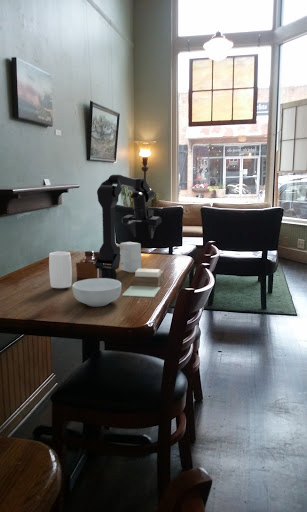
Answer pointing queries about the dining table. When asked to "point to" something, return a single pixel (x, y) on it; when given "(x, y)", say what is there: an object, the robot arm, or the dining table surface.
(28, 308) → the dining table surface
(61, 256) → the cup
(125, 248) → the small box
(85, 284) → the cereal bowl
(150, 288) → the mat
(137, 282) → the brown flat wooden block
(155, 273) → the white rectangular block
